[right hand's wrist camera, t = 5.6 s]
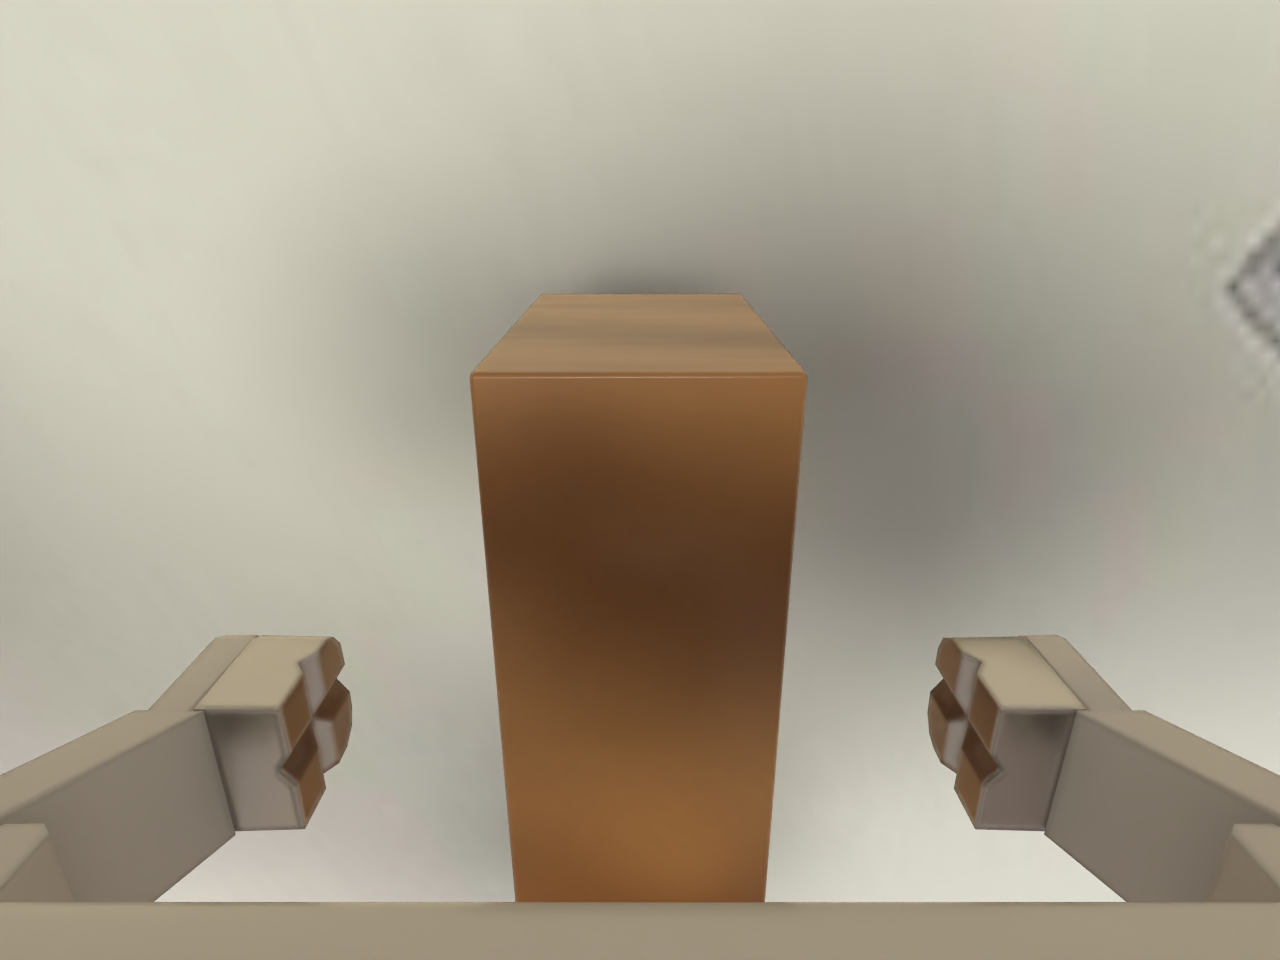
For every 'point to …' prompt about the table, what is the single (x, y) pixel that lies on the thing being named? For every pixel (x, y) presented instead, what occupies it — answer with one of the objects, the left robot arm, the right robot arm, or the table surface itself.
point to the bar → (639, 589)
